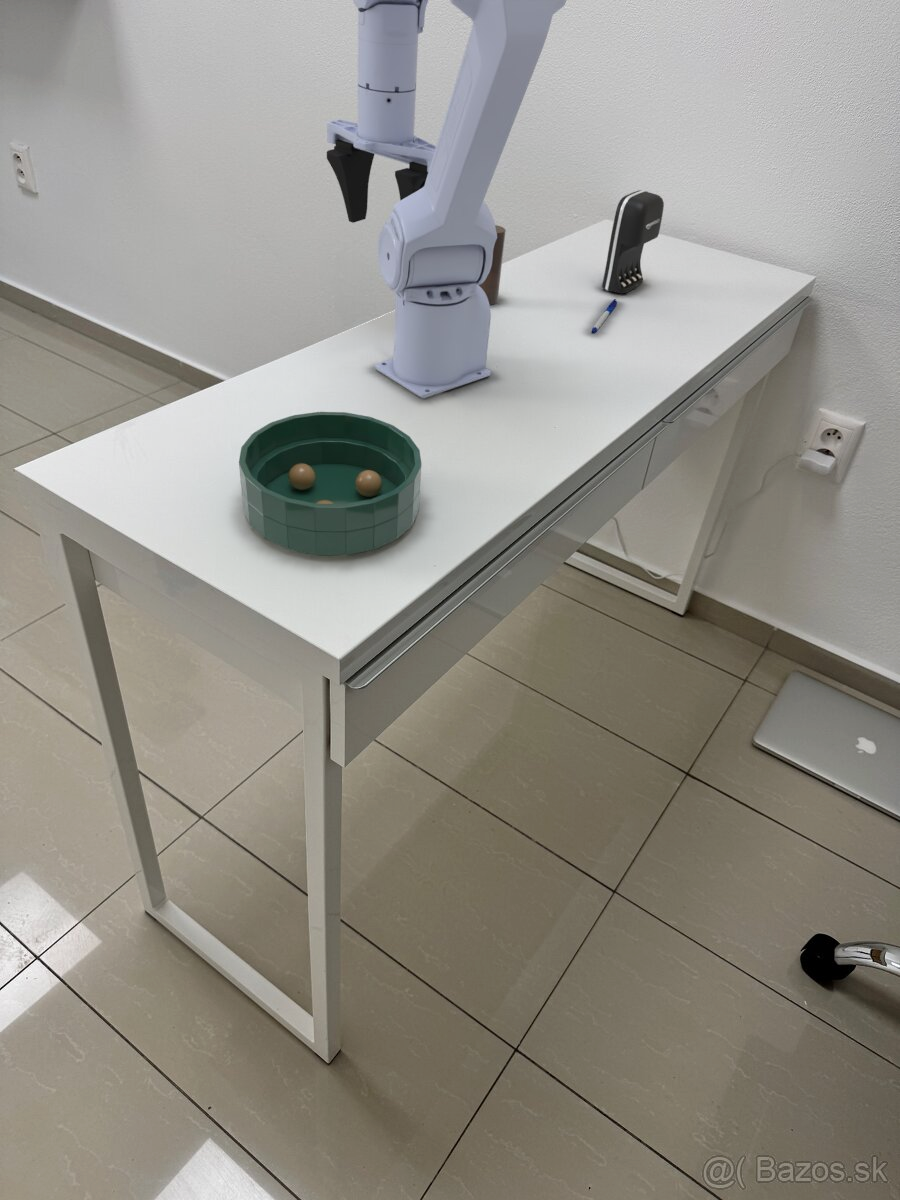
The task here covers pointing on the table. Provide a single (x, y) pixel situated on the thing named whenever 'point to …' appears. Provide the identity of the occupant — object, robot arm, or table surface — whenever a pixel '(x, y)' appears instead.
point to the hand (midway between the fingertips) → (383, 229)
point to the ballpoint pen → (604, 316)
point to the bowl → (330, 483)
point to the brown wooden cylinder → (495, 268)
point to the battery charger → (631, 239)
